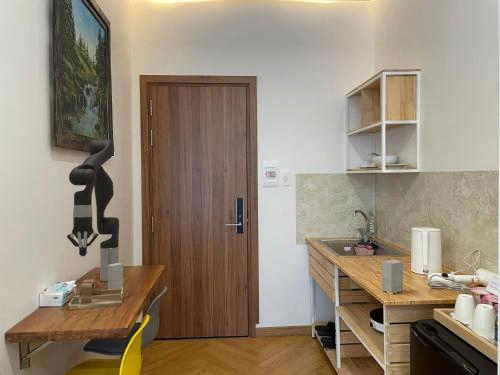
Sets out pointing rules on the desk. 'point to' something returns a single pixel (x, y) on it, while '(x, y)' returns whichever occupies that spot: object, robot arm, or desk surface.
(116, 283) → the skincare box
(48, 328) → the desk surface
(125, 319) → the desk surface
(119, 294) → the tunnel board
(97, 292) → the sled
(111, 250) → the robot arm
